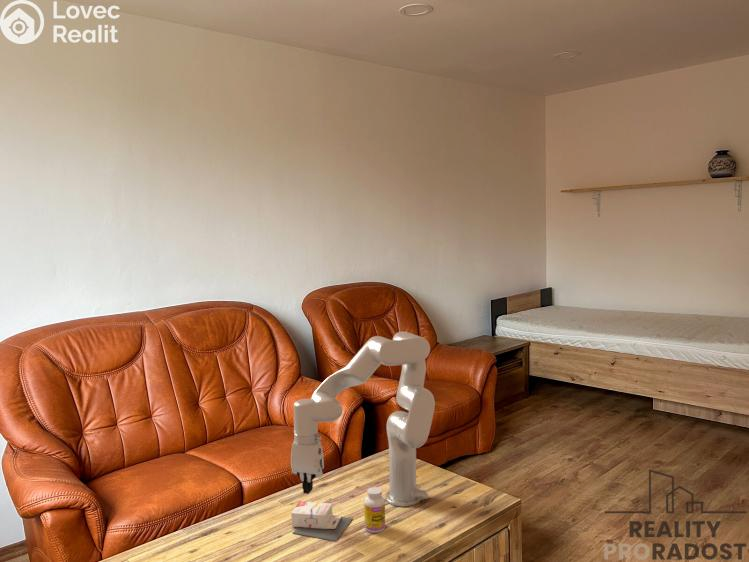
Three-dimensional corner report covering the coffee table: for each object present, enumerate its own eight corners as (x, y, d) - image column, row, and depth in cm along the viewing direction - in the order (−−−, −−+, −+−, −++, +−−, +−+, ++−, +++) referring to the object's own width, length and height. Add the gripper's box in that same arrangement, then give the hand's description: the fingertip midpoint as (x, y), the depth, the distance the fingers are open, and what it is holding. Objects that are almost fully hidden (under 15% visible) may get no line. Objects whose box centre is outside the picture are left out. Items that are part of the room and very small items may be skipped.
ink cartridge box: (299, 500, 194) (341, 503, 192) (299, 514, 195) (341, 517, 192) (290, 512, 186) (334, 515, 183) (291, 527, 186) (335, 530, 184)
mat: (352, 519, 191) (352, 518, 191) (336, 541, 178) (335, 540, 178) (311, 512, 196) (311, 511, 196) (292, 533, 183) (292, 532, 183)
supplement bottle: (370, 536, 181) (369, 497, 180) (361, 526, 187) (360, 488, 186) (388, 530, 184) (388, 492, 183) (379, 521, 190) (378, 484, 189)
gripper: (331, 436, 187) (333, 490, 189) (290, 431, 192) (292, 483, 194) (322, 444, 180) (323, 500, 182) (280, 439, 185) (281, 493, 187)
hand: (307, 491), depth 188 cm, fingers closed
